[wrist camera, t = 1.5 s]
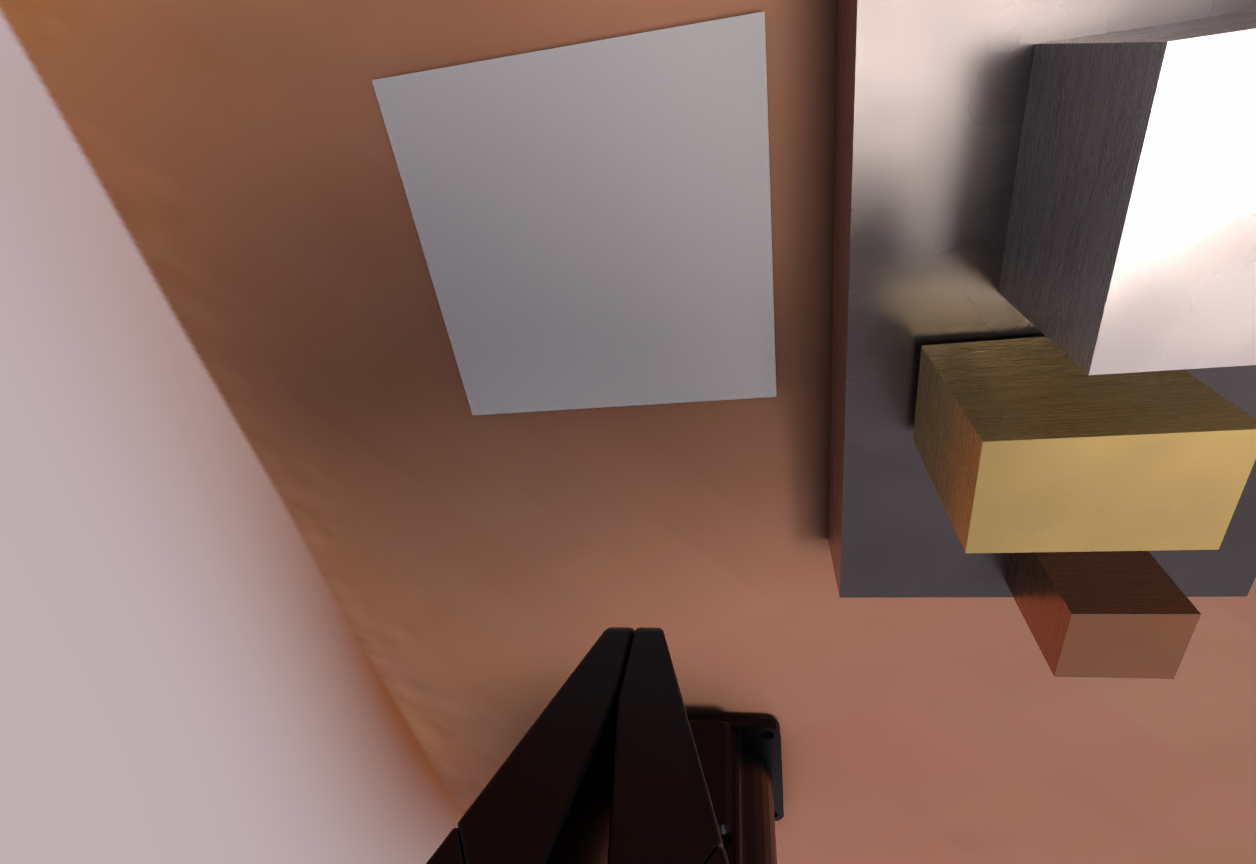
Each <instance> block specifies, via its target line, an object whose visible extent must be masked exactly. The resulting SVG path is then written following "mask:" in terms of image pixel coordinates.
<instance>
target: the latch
mask: <svg viewBox="0 0 1256 864" xmlns="http://www.w3.org/2000/svg"><path fill="white" fill-rule="evenodd" d="M913 441H914V443H915V445H916V448H917V450H918V452H919V454H920V456H921V458H922V461H923V463H924V465H925V467H926V469H927V471H928V474H929V476H930V478H931V480H932V482H933V484H934V486H935V489H936V491H937V493H938V495H939V497H940V499H941V502H942V504H943V506H944V508H945V510H946V512H947V515H948V517H949V519H950V521H951V523H952V525H953V528H954V530H955V532H956V534H957V536H958V538H959V540H960V543H961V545H962V547H963V549H964V551H965V553H1026V552H1094V551H1162V550H1219V547H1220V545H1221V543H1222V540H1223V538H1224V535H1225V533H1226V530H1227V528H1228V526H1229V523H1230V521H1231V518H1232V516H1233V513H1234V511H1235V508H1236V506H1237V504H1238V501H1239V499H1240V496H1241V494H1242V491H1243V489H1244V487H1245V484H1246V482H1247V479H1248V477H1249V474H1250V472H1251V469H1252V467H1253V465H1254V462H1255V460H1256V420H1255V419H1254V418H1252V417H1251V416H1249V415H1248V414H1247V413H1245V412H1244V411H1242V410H1241V409H1240V408H1238V407H1237V406H1235V405H1234V404H1232V403H1231V402H1230V401H1228V400H1227V399H1225V398H1224V397H1223V396H1221V395H1220V394H1218V393H1217V392H1216V391H1214V390H1213V389H1211V388H1210V387H1208V386H1207V385H1206V384H1204V383H1203V382H1201V381H1200V380H1199V379H1197V378H1196V377H1194V376H1193V375H1192V374H1190V373H1189V372H1187V371H1186V370H1184V369H1183V370H1167V371H1151V372H1135V373H1119V374H1102V375H1088V374H1087V373H1086V372H1084V371H1083V370H1082V369H1081V368H1080V367H1079V366H1078V365H1077V364H1076V363H1075V362H1074V361H1072V360H1071V359H1070V358H1069V357H1068V356H1067V355H1066V354H1065V353H1064V352H1063V351H1061V350H1060V349H1059V348H1058V347H1057V346H1056V345H1055V344H1054V343H1053V342H1052V341H1051V340H1049V339H1048V338H1047V337H1046V336H1045V337H1032V338H1018V339H1005V340H991V341H977V342H964V343H950V344H936V345H923V346H921V356H920V367H919V378H918V388H917V399H916V410H915V421H914V432H913Z"/></svg>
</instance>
